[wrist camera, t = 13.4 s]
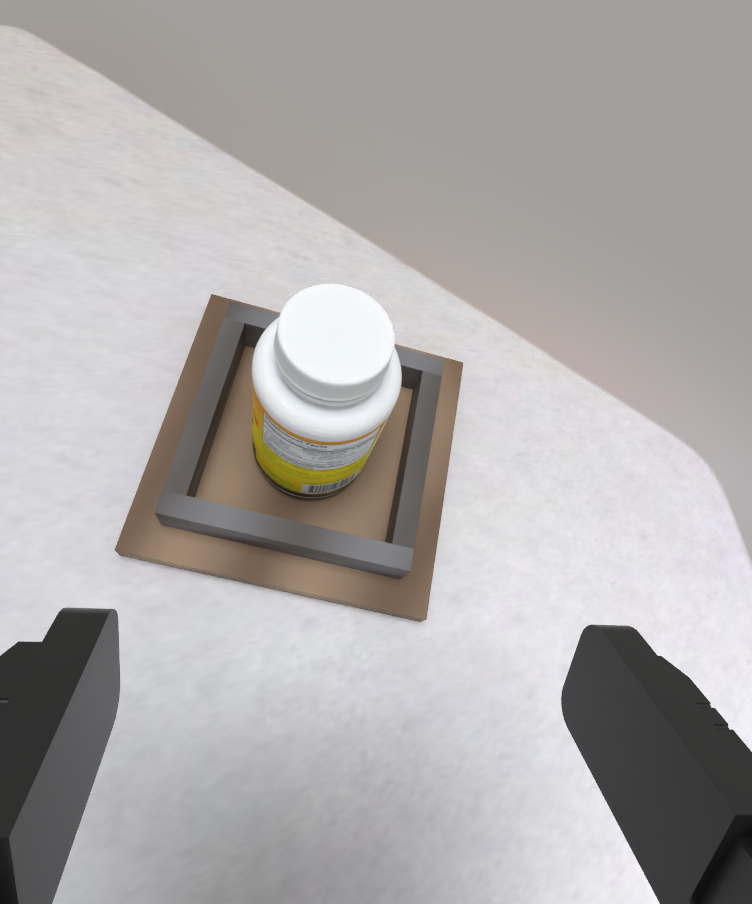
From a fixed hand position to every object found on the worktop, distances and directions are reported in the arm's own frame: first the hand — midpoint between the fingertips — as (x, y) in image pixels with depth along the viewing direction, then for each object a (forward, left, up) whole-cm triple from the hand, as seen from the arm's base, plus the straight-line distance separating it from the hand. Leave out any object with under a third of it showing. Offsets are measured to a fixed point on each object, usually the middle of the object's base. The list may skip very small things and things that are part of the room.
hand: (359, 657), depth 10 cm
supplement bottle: (-2, +10, -16) cm, 19 cm away
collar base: (-2, +10, -17) cm, 20 cm away
